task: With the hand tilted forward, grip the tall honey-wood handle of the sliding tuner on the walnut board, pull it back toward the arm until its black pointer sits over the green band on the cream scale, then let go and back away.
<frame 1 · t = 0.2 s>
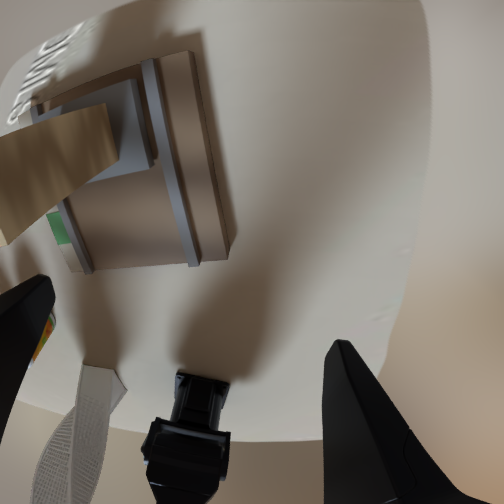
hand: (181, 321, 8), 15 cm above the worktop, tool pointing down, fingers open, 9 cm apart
skyscraper: (103, 376, 37), on the worktop
supplement bottle: (40, 312, 31), on the worktop
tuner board: (116, 167, 21), on the worktop
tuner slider: (24, 168, 13), point 8 cm above the worktop, slide at 0.0 cm
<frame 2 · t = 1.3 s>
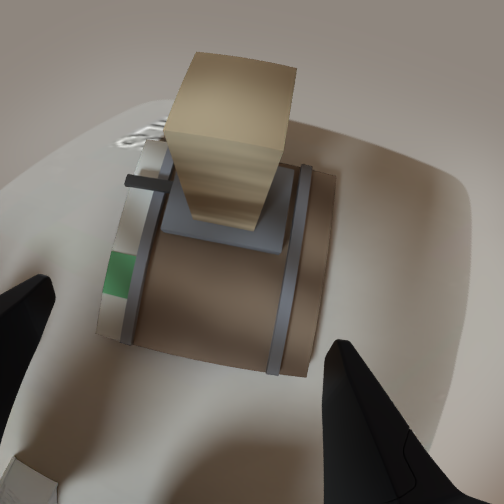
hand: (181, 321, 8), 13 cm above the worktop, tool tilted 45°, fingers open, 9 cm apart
skyscraper: (34, 484, 17), on the worktop
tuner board: (220, 248, 22), on the worktop
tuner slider: (198, 158, 15), point 8 cm above the worktop, slide at 0.0 cm
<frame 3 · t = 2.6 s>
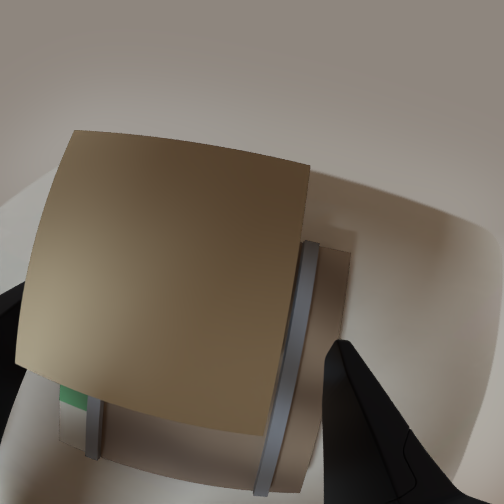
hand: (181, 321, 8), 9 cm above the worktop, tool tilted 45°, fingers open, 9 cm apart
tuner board: (196, 351, 17), on the worktop
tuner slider: (140, 281, 10), point 8 cm above the worktop, slide at 0.0 cm
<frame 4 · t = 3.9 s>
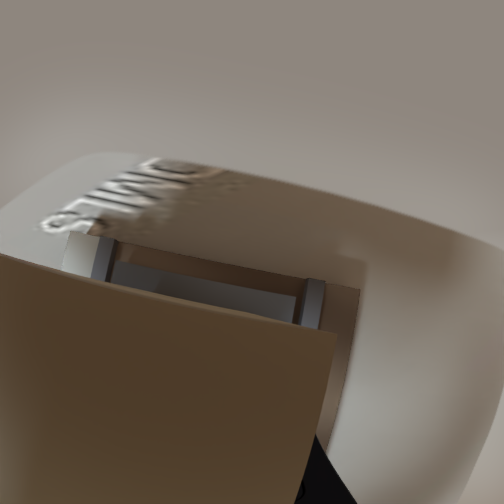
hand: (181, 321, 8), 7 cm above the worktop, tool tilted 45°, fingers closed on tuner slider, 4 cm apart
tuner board: (186, 395, 14), on the worktop
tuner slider: (108, 356, 7), point 8 cm above the worktop, slide at 0.0 cm, touching gripper
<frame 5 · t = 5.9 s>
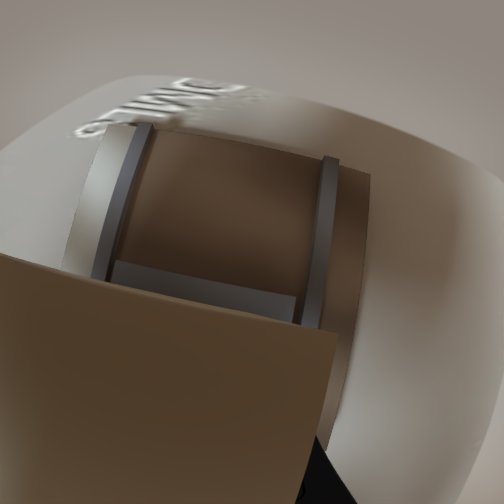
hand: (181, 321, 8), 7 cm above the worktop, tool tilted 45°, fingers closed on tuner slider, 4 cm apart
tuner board: (208, 276, 16), on the worktop
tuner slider: (107, 356, 7), point 8 cm above the worktop, slide at 6.4 cm, touching gripper
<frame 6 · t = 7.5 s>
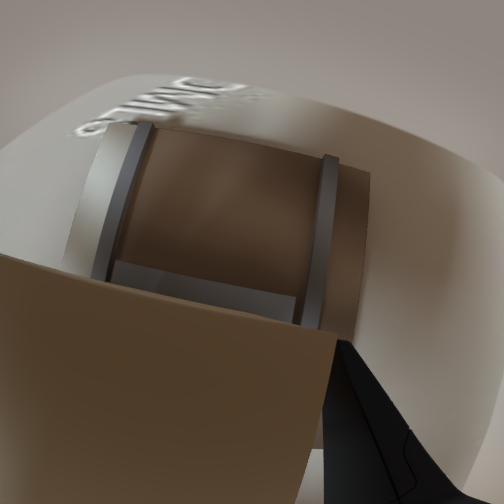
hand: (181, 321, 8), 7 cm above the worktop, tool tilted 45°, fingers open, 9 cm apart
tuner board: (208, 274, 16), on the worktop
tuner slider: (108, 356, 7), point 8 cm above the worktop, slide at 6.5 cm
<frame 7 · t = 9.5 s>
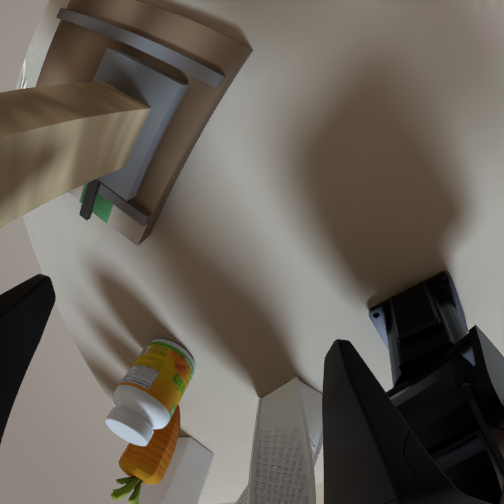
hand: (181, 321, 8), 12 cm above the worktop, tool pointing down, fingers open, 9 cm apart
skyscraper: (295, 399, 27), on the worktop
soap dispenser: (190, 445, 39), on the worktop
supplement bottle: (172, 355, 29), on the worktop
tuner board: (105, 98, 18), on the worktop
carrot: (176, 400, 33), on the worktop
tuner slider: (48, 167, 12), point 8 cm above the worktop, slide at 6.5 cm
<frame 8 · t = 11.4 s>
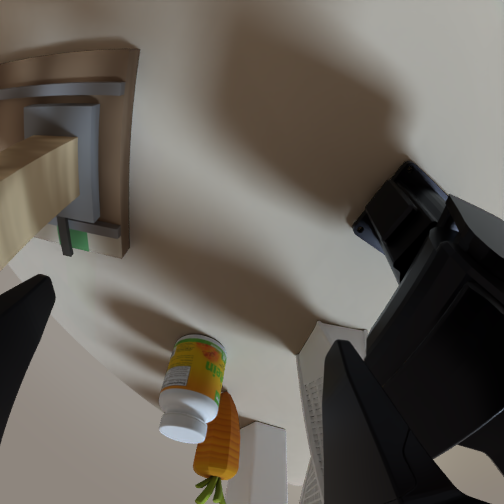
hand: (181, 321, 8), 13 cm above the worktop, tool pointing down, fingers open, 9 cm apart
skyscraper: (329, 343, 28), on the worktop
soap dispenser: (260, 429, 41), on the worktop
supplement bottle: (201, 348, 30), on the worktop
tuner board: (43, 148, 19), on the worktop
carrot: (226, 390, 34), on the worktop
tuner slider: (14, 223, 13), point 8 cm above the worktop, slide at 6.5 cm
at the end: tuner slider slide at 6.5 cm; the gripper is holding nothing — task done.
